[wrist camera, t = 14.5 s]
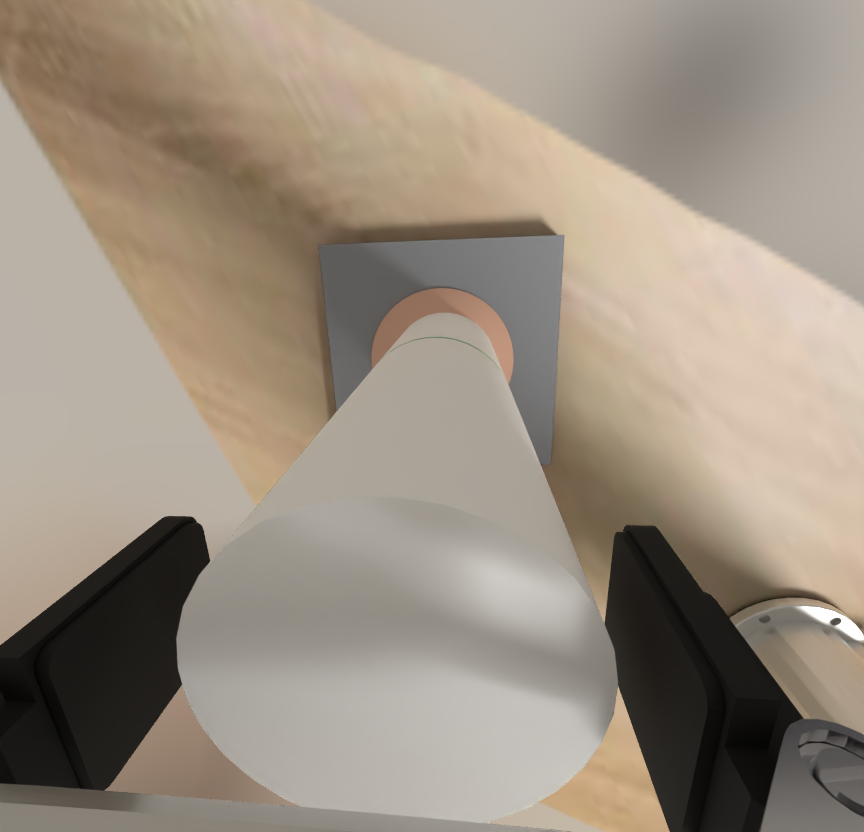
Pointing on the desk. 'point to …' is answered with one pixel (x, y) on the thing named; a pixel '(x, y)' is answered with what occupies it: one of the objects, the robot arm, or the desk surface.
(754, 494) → the desk surface
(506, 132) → the desk surface
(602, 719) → the cylindrical container
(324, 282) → the board
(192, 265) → the desk surface
